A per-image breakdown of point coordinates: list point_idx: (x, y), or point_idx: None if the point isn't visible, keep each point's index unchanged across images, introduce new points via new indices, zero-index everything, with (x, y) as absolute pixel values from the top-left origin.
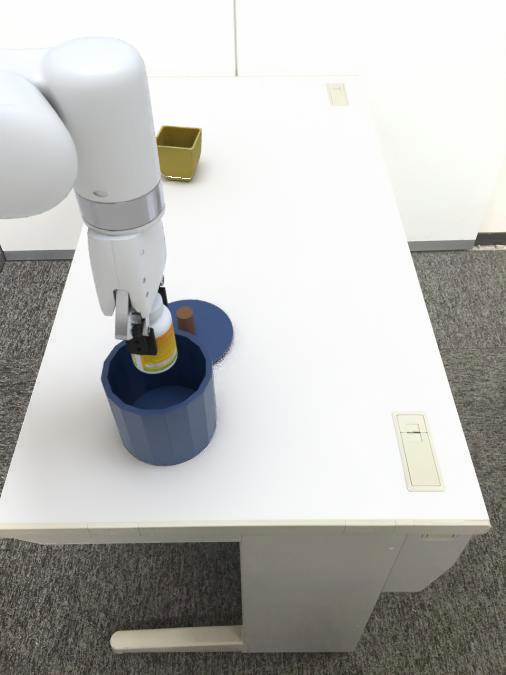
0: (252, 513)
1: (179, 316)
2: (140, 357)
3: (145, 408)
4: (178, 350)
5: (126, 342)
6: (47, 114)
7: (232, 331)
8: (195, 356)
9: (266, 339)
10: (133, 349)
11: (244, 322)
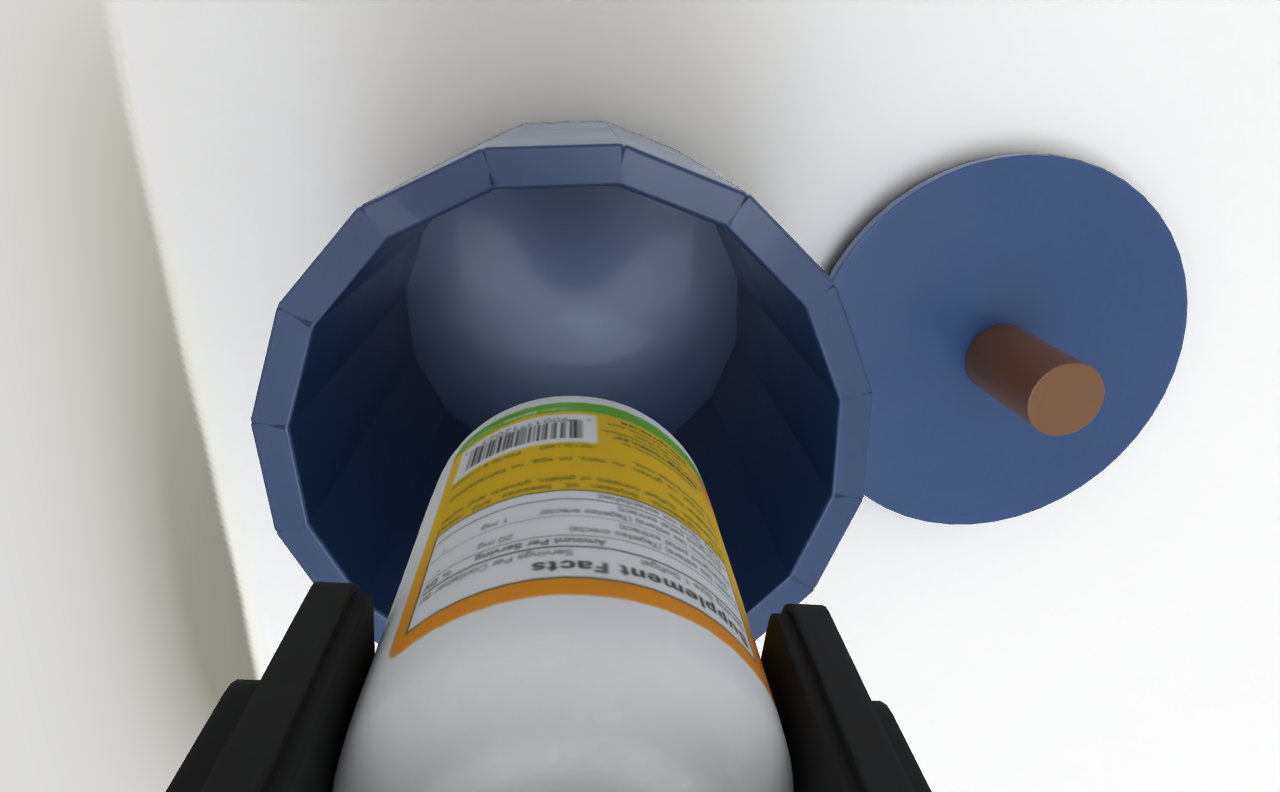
0: (261, 590)
1: (1046, 381)
2: (408, 562)
3: (629, 223)
4: (781, 460)
5: (267, 676)
6: None
7: (968, 522)
8: (726, 548)
9: (923, 613)
10: (218, 720)
11: (1016, 543)
